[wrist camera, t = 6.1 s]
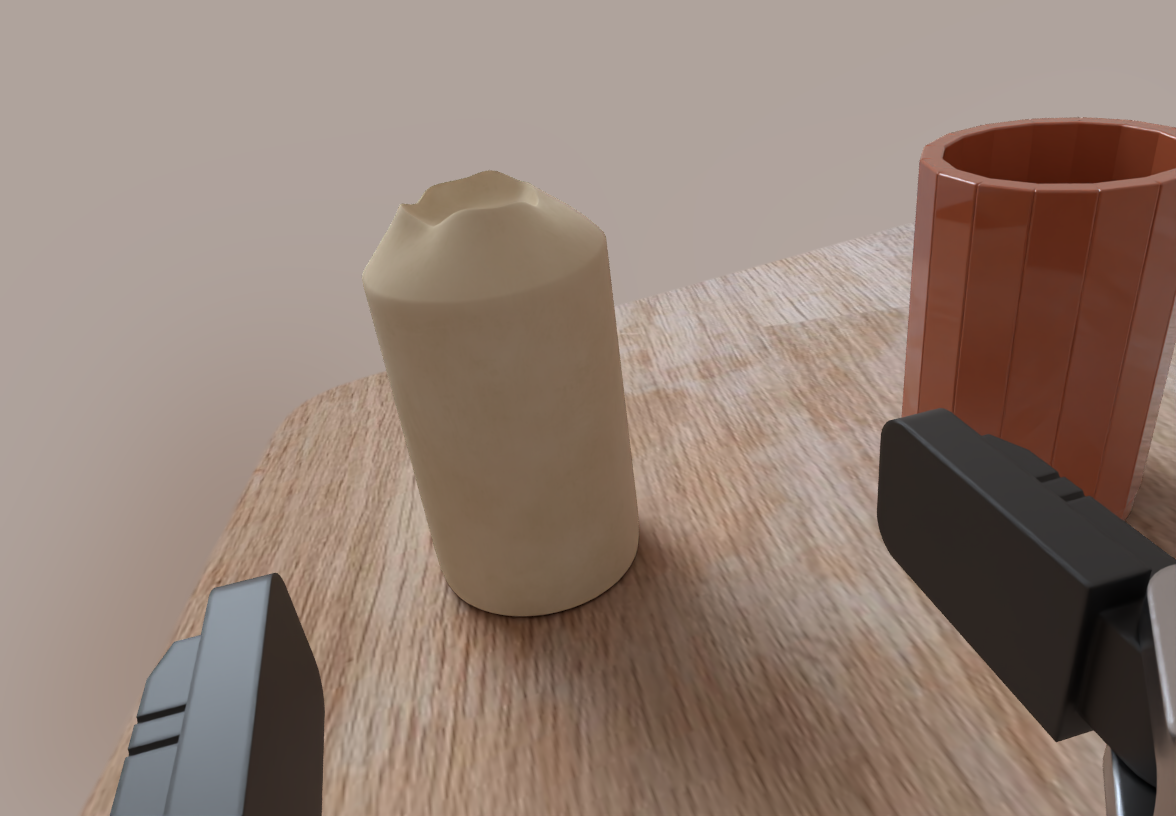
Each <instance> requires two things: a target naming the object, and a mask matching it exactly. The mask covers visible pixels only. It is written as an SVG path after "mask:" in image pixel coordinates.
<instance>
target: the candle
mask: <svg viewBox="0 0 1176 816" xmlns="http://www.w3.org/2000/svg"><path fill="white" fill-rule="evenodd" d="M609 268H610V267H609V259H608V250H607V242H606V236H605V234H604V232H603V231H602V230H601V229H600V228H599V227H598V226H597V225H595V224H594V223H593V222H592V221H591V220H589V219H588V218H587V217H586V216H584V215H583V214H581V213H580V212H578V211H577V210H575V209H574V208H572V207H571V206H569V205H567V204H566V203H564V202H562V201H560V200H558V199H556V198H555V197H553V196H551V195H549V194H547V193H545V192H544V191H542V190H540V189H538V188H536V187H535V186H533V185H532V184H530V183H528V182H524V181H520V180H517V179H514V178H512V177H510V176H508V175H505V174H503V173H500V172H498V171H484V172H480V173H477V174H475V175H472V176H470V177H467V178H464V179H459V180H455V181H450V182H445V183H441V184H437V185H434V186H432V187H430V188H429V189H427V190H426V191H425V193H424V194H423V196H422V197H421V198H420V200H419V201H418V202H417V203H416V204H412V205H409V204H400V205H399V207H398V210H397V212H396V215H395V217H394V219H393V221H392V223H391V225H390V226H389V228H388V230H387V232H386V234H385V235H384V237H383V239H382V240H381V242H380V244H379V246H378V247H377V249H376V251H375V253H374V254H373V256H372V257H371V259H370V261H369V263H368V264H367V266H366V268H365V270H364V271H363V275H362V281H363V285H364V290H365V293H366V297H367V301H368V304H369V308H370V312H371V315H372V319H373V323H374V326H375V330H376V334H377V338H378V341H379V345H380V349H381V352H382V356H383V360H384V363H385V367H386V371H387V375H388V378H389V382H390V386H391V389H392V393H393V397H394V400H395V404H396V408H397V411H398V415H399V419H400V422H401V426H402V430H403V433H404V437H405V441H406V445H407V448H408V452H409V456H410V459H411V463H412V467H413V470H414V474H415V478H416V481H417V485H418V489H419V492H420V496H421V500H422V503H423V507H424V511H425V514H426V518H427V522H428V526H429V529H430V533H431V537H432V540H433V544H434V547H435V551H436V554H437V557H438V561H439V564H440V567H441V570H442V572H443V574H444V577H445V578H446V580H447V582H448V584H449V586H450V587H451V588H452V590H453V591H454V592H455V593H456V594H457V595H458V596H459V597H460V598H461V599H463V600H464V601H466V602H467V603H468V604H470V605H472V606H474V607H477V608H479V609H481V610H485V611H488V612H491V613H496V614H501V615H509V616H536V615H545V614H550V613H555V612H560V611H563V610H566V609H570V608H573V607H575V606H578V605H581V604H583V603H585V602H587V601H589V600H591V599H593V598H595V597H597V596H599V595H600V594H602V593H603V592H605V591H606V590H608V589H609V588H610V587H611V586H613V585H614V584H615V583H616V582H617V581H618V580H619V579H620V578H621V577H622V576H623V575H624V574H625V573H626V571H627V570H628V568H629V567H630V566H631V564H632V562H633V560H634V558H635V555H636V552H637V549H638V540H639V521H638V510H637V499H636V491H635V482H634V474H633V465H632V456H631V448H630V439H629V431H628V422H627V413H626V405H625V396H624V388H623V379H622V370H621V362H620V353H619V345H618V336H617V327H616V319H615V310H614V301H613V293H612V284H611V276H610V269H609Z"/></svg>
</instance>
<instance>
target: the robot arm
mask: <svg viewBox="0 0 1176 816" xmlns="http://www.w3.org/2000/svg"><path fill="white" fill-rule="evenodd" d="M877 519H878V525H879V529H880V533H881V536H882V539H883V541H884V543H885V545H886V547H887V549H888V551H889V553H890V554H891V556H892V557H893V558H894V559H895V560H896V562H897V563H898V564H899V565H900V566H901V567H902V568H903V570H904V571H905V572H906V573H907V574H908V575H909V576H910V577H911V579H912V580H913V581H914V582H915V583H916V584H917V585H918V587H919V588H920V589H921V590H922V591H923V592H924V593H925V594H926V596H927V597H928V598H929V599H930V600H931V601H932V602H933V603H934V605H935V606H936V607H937V608H938V609H939V610H940V611H941V613H942V614H943V615H944V616H945V617H946V618H947V619H948V620H949V622H950V623H951V624H952V625H953V626H954V627H955V628H956V630H957V631H958V632H959V633H960V634H961V635H962V636H963V637H964V639H965V640H966V641H967V642H968V643H969V644H970V645H971V646H972V648H973V649H974V650H975V651H976V652H977V653H978V654H979V656H980V657H981V658H982V659H983V660H984V661H985V662H986V663H987V665H988V666H989V667H990V668H991V669H992V670H993V671H994V673H995V674H996V675H997V676H998V677H999V678H1000V679H1001V680H1002V682H1003V683H1004V684H1005V685H1006V686H1007V687H1008V688H1009V690H1010V691H1011V692H1012V693H1013V694H1014V695H1015V696H1016V697H1017V699H1018V700H1019V701H1020V702H1021V703H1022V704H1023V705H1024V706H1025V708H1026V709H1027V710H1028V711H1029V712H1030V713H1031V714H1032V716H1033V717H1034V718H1035V719H1036V720H1037V721H1038V722H1039V723H1040V725H1041V726H1042V727H1043V728H1044V729H1045V730H1046V731H1047V733H1048V734H1049V735H1050V736H1051V737H1052V738H1053V739H1054V740H1055V742H1058V741H1062V740H1065V739H1068V738H1071V737H1074V736H1077V735H1080V734H1083V733H1087V732H1090V731H1093V730H1094V731H1095V732H1096V733H1097V734H1098V735H1099V736H1100V737H1101V738H1102V739H1103V740H1104V742H1105V743H1106V744H1107V745H1106V749H1105V753H1104V756H1103V776H1104V789H1105V802H1106V815H1107V816H1176V560H1175V559H1174V558H1173V557H1171V556H1170V555H1169V554H1167V553H1166V552H1165V551H1163V550H1162V549H1161V548H1159V547H1158V546H1157V545H1155V544H1154V543H1153V542H1151V541H1150V540H1149V539H1147V538H1146V537H1145V536H1143V535H1142V534H1141V533H1139V532H1138V531H1137V530H1135V529H1134V528H1133V527H1131V526H1130V525H1129V524H1127V523H1126V522H1125V521H1123V520H1122V519H1121V518H1119V517H1118V516H1117V515H1115V514H1114V513H1113V512H1111V511H1110V510H1109V509H1107V508H1106V507H1105V506H1103V505H1102V504H1101V503H1099V502H1098V501H1097V500H1095V499H1094V498H1093V497H1091V496H1085V495H1084V493H1083V490H1082V489H1080V488H1079V487H1078V486H1076V485H1075V484H1074V483H1072V482H1071V481H1070V480H1068V479H1067V478H1066V477H1060V476H1059V472H1058V471H1056V470H1055V469H1054V468H1052V467H1051V466H1050V465H1048V464H1047V463H1046V462H1044V461H1043V460H1042V459H1040V458H1039V457H1038V456H1036V455H1035V454H1034V453H1032V452H1031V451H1030V450H1028V449H1026V448H1023V447H1021V446H1018V445H1015V444H1013V443H1010V442H1008V441H1005V440H1003V439H1000V438H998V437H995V436H993V435H990V434H987V435H983V436H981V435H980V434H979V433H977V432H976V431H975V430H974V429H972V428H971V427H970V426H968V425H967V424H966V423H965V422H963V421H962V420H961V419H959V418H958V417H957V416H956V415H954V414H953V413H952V412H950V411H949V410H947V409H944V408H938V409H934V410H930V411H926V412H922V413H918V414H914V415H910V416H906V417H902V418H898V419H894V420H890V421H888V422H886V424H885V425H884V427H883V429H882V433H881V443H880V463H879V483H878V502H877ZM324 716H325V709H324V696H323V689H322V683H321V679H320V674H319V670H318V667H317V664H316V661H315V658H314V656H313V653H312V651H311V648H310V646H309V643H308V641H307V638H306V636H305V633H304V631H303V628H302V626H301V623H300V621H299V618H298V616H297V613H296V611H295V608H294V606H293V603H292V601H291V598H290V596H289V593H288V591H287V588H286V586H285V583H284V581H283V580H282V578H281V577H280V575H279V574H278V573H273V574H269V575H265V576H261V577H257V578H253V579H249V580H245V581H241V582H237V583H233V584H229V585H225V586H221V587H217V588H214V589H213V590H212V591H211V593H210V595H209V599H208V604H207V608H206V613H205V618H204V623H203V627H202V632H201V635H199V636H195V637H192V638H188V639H184V640H180V641H176V642H174V643H173V644H172V646H171V647H170V648H169V650H168V651H167V652H166V654H165V655H164V656H163V658H162V659H161V661H160V662H159V663H158V665H157V666H156V667H155V669H154V670H153V672H152V673H151V674H150V676H149V677H148V678H147V681H146V684H145V688H144V692H143V695H142V699H141V703H140V706H139V710H138V714H137V721H138V724H136V725H134V728H133V732H132V736H131V739H130V743H129V747H128V751H129V757H126V758H125V761H124V765H123V769H122V772H121V776H120V780H119V784H118V787H117V791H116V795H115V798H114V802H113V806H112V809H111V813H110V816H322V783H323V749H324Z"/></svg>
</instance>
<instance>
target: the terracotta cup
mask: <svg viewBox="0 0 1176 816" xmlns="http://www.w3.org/2000/svg"><path fill="white" fill-rule="evenodd" d="M1175 343H1176V128H1175V127H1169V126H1163V125H1158V124H1151V123H1146V122H1139V121H1132V120H1120V119H1104V118H1086V117H1083V118H1079V117H1074V118H1042V119H1031V120H1029V119H1025V120H1017V121H1008V122H1001V123H993V124H986V125H980V126H976V127H973V128H969V129H965V130H961V131H957V132H953V133H949V134H946V135H944V136H942V137H940V138H939V139H937V140H935V141H933V142H931V143H929V144H927V145H926V146H925V147H924V148H923V151H922V154H921V158H920V162H919V177H918V191H917V205H916V219H915V233H914V248H913V262H912V276H911V290H910V305H909V319H908V333H907V348H906V362H905V376H904V390H903V405H902V417H906V416H910V415H914V414H918V413H922V412H926V411H930V410H934V409H938V408H944V409H947V410H949V411H950V412H952V413H953V414H954V415H956V416H957V417H958V418H959V419H961V420H962V421H963V422H965V423H966V424H967V425H968V426H970V427H971V428H972V429H974V430H975V431H976V432H977V433H979V434H980V435H981V436H983V435H987V434H990V435H993V436H995V437H998V438H1000V439H1003V440H1005V441H1008V442H1010V443H1013V444H1015V445H1018V446H1021V447H1023V448H1026V449H1028V450H1030V451H1031V452H1032V453H1034V454H1035V455H1036V456H1038V457H1039V458H1040V459H1042V460H1043V461H1044V462H1046V463H1047V464H1048V465H1050V466H1051V467H1052V468H1054V469H1055V470H1056V471H1058V472H1059V476H1060V477H1066V478H1067V479H1068V480H1070V481H1071V482H1072V483H1074V484H1075V485H1076V486H1078V487H1079V488H1080V489H1082V490H1083V493H1084V495H1085V496H1091V497H1093V498H1094V499H1095V500H1097V501H1098V502H1099V503H1101V504H1102V505H1103V506H1105V507H1106V508H1107V509H1109V510H1110V511H1111V512H1113V513H1114V514H1115V515H1117V516H1118V517H1119V518H1121V519H1122V520H1123V521H1124V520H1125V519H1126V518H1127V517H1128V516H1129V514H1130V512H1131V510H1132V508H1133V504H1134V500H1135V496H1136V492H1137V491H1138V489H1139V488H1140V486H1141V482H1142V478H1143V473H1144V469H1145V465H1146V461H1147V457H1148V453H1149V449H1150V445H1151V441H1152V437H1153V433H1154V428H1155V424H1156V420H1157V416H1158V412H1159V408H1160V404H1161V400H1162V396H1163V392H1164V388H1165V383H1166V379H1167V375H1168V371H1169V367H1170V363H1171V359H1172V355H1173V351H1174V347H1175Z"/></svg>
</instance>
